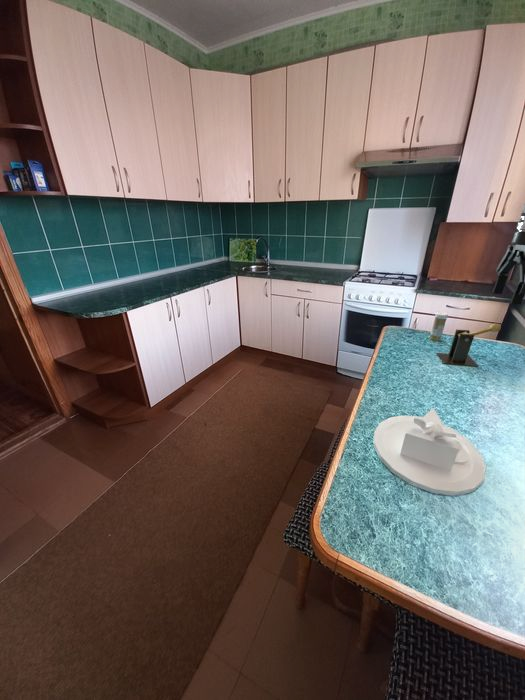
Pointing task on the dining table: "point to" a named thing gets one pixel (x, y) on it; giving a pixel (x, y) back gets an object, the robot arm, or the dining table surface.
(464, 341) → the dark grey stand
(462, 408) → the dining table surface
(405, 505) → the dining table surface
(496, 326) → the tap lever
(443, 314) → the sprinkles bottle
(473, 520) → the dining table surface
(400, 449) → the dish
